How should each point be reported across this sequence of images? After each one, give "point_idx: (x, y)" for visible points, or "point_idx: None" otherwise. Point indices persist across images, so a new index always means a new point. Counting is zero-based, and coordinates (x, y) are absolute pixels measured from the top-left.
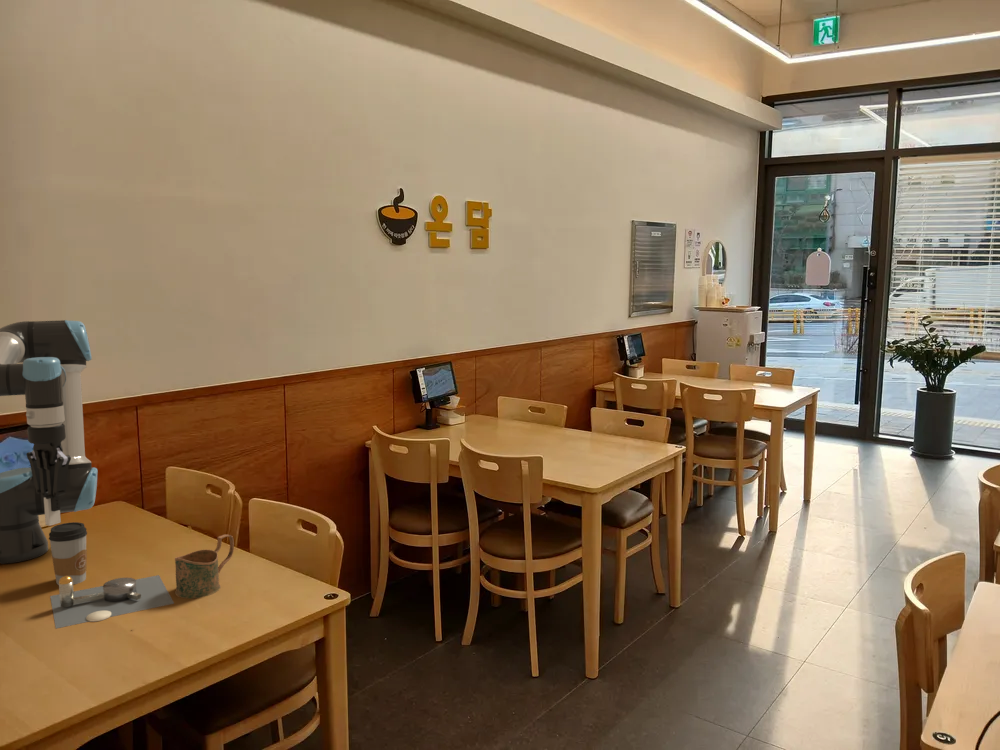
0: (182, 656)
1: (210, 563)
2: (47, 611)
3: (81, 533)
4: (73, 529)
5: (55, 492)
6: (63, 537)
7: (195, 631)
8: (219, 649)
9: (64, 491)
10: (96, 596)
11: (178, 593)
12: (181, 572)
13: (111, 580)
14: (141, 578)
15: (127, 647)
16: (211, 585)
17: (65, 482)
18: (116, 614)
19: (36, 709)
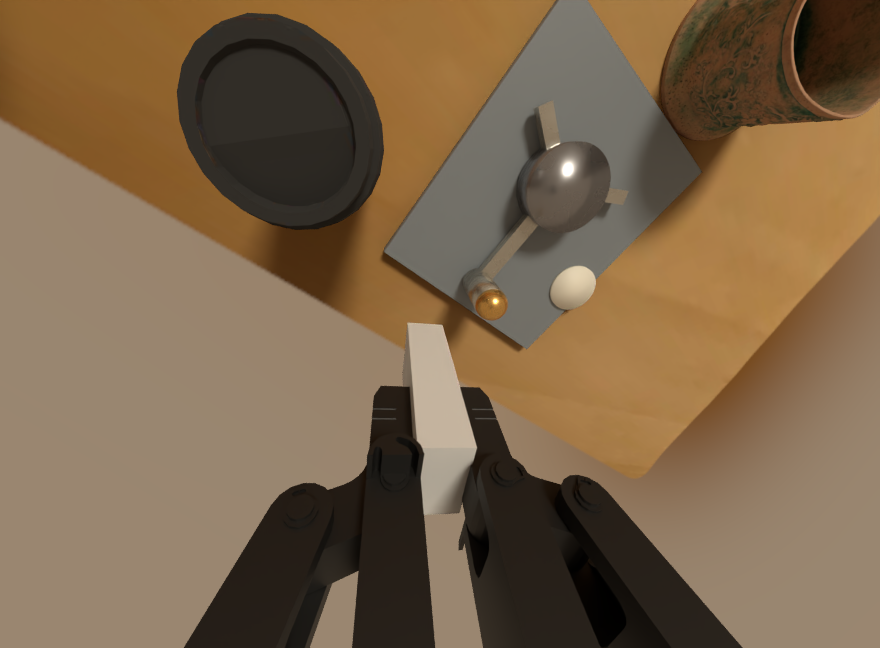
0: (759, 318)
1: None
2: (428, 289)
3: (379, 129)
4: (354, 159)
5: (577, 572)
6: (350, 213)
7: (762, 245)
8: (813, 281)
9: (610, 514)
10: (524, 239)
11: (701, 121)
12: (784, 122)
13: (535, 181)
14: (533, 38)
15: (665, 330)
16: (811, 69)
17: (715, 638)
18: (601, 267)
19: (630, 452)
